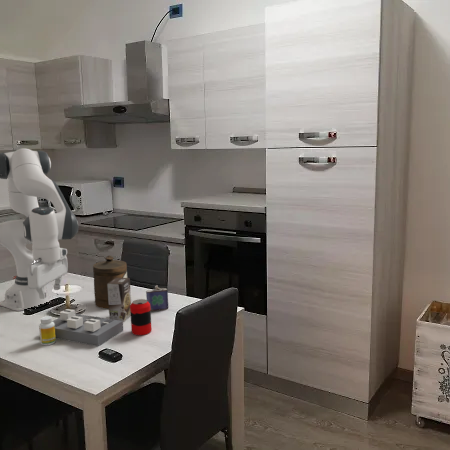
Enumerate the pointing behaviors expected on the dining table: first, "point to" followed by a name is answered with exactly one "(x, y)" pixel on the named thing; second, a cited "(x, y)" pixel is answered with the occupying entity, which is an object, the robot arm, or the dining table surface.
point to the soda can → (140, 317)
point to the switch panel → (88, 337)
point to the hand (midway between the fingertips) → (50, 293)
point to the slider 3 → (92, 325)
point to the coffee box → (119, 299)
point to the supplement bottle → (47, 331)
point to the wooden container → (106, 278)
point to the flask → (157, 298)
